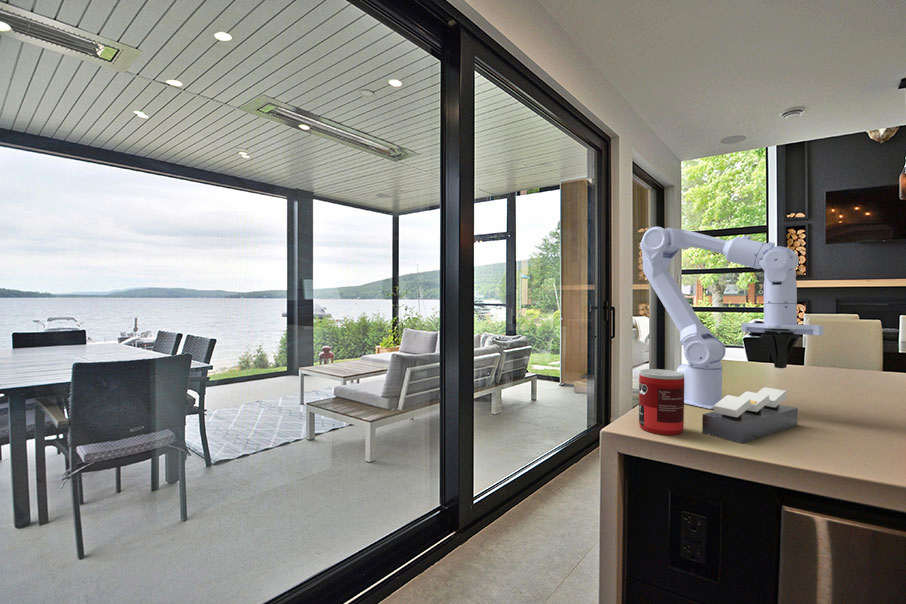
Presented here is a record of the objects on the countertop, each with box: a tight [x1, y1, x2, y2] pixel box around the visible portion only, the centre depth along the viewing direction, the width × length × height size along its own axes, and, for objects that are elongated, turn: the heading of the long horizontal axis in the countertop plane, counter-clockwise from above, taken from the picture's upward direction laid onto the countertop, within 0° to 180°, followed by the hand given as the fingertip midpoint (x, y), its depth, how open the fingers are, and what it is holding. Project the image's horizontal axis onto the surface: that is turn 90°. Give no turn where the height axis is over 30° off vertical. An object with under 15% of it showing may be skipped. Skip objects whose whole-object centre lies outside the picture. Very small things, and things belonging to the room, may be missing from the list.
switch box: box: [701, 404, 799, 444], centre depth 90 cm, size 7×27×4 cm, turn 122°
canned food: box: [638, 368, 685, 436], centre depth 88 cm, size 8×8×11 cm
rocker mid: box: [738, 390, 770, 412], centre depth 88 cm, size 4×5×2 cm
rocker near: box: [713, 394, 751, 417], centre depth 85 cm, size 4×5×1 cm
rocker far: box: [757, 386, 788, 407], centre depth 92 cm, size 4×5×1 cm
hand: (780, 367), depth 98 cm, fingers closed
